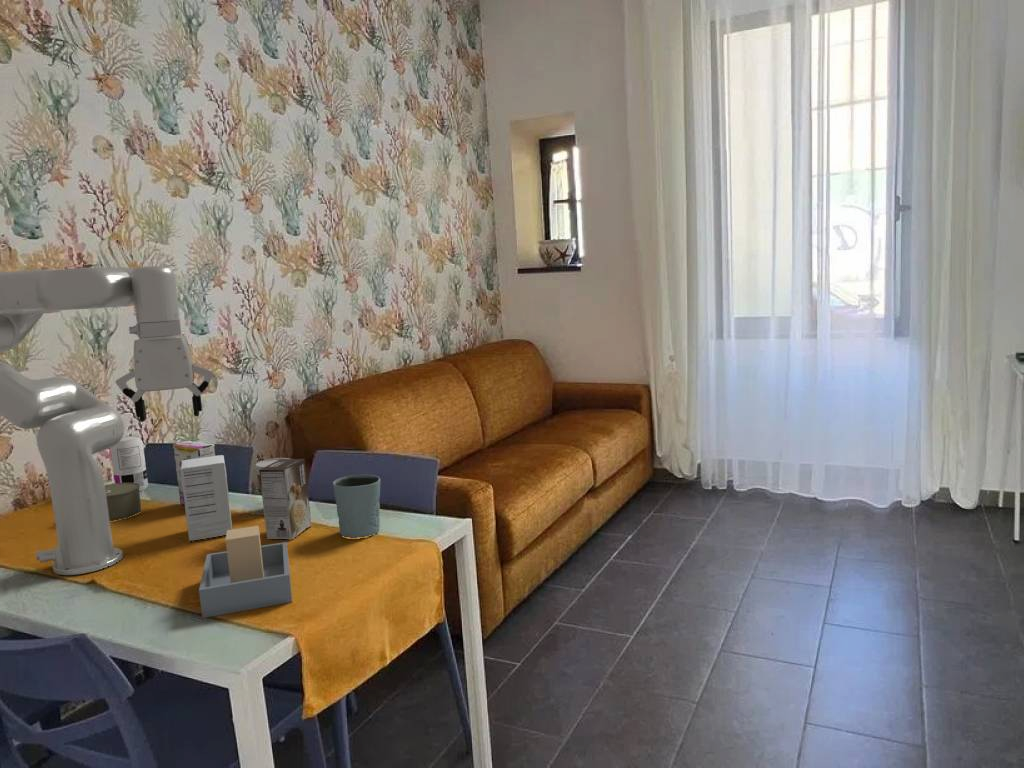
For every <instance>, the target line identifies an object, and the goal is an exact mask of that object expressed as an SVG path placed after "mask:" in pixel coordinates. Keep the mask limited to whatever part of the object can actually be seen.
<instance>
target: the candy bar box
mask: <svg viewBox="0 0 1024 768" xmlns="http://www.w3.org/2000/svg"><path fill="white" fill-rule="evenodd" d="M215 445H216V444H215V443H210V442H209V443H208V442H203V441H202V442H200V441H194V440H185V441H181V442H176V443H173V444H172V449H173V456H174V464H175V470H176V477H177V478H176V479H177V485H178V494H179V502H180V505H181V506H184V507H185V502H184V495H183V488H182V480H181V471H180V469H181V465H182V460H189V459H196V458H204V457H211V456H217V453H216V446H215Z"/></svg>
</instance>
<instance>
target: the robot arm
mask: <svg viewBox="0 0 1024 768" xmlns="http://www.w3.org/2000/svg"><path fill="white" fill-rule="evenodd" d="M176 286H177V285H176V279H175V273H174V270H173V269H172V268H171V267H168V266H165V265H159V266H158V265H154V266H153V265H151V266H150V265H149V266H139V267H135V268H134V267H115V266H113V267H112V266H111V267H110V266H105V267H103V266H102V267H100V266H99V267H79V268H77V267H76V268H65V269H53V268H43V269H29V270H15V271H14V270H12V271H11V270H10V271H0V353H2V352H3V353H4V352H7V351H10V350H12V349H15V348H16V347H17V346H19V345H20V344H22V342H23V341H24V340H25V338H26V337H27V336H28V335H29V333H30V332H31V331H32V330H33V328H34V327H35V326H36V324H38V322H39V321H40V320H41V318H42V317H43V315H44V314H52V313H55V314H56V313H59V312H61V311H73V310H88V309H89V310H92V309H94V310H95V309H107V308H118V307H119V308H120V307H132V306H134V311H135V317H136V323H135V325H133V326H129V327H128V332H129V334H130V335H133V334H134V335H136V336H137V337H138V339H134V341H133V370H132V371H130V372H128V373H126V374H125V375H122V376H121V377H119V378H117V379H116V380H115V384H116V386H117V387H118V388H119V389H120V390H121V392H122V393H123V395H124V396H126V397H128V399H130V400H131V401H132V402H133V403H134V408H135V416H136V418H139V422H140V423H144V422H145V421H146V420H147V418H148V417H147V411H146V404H145V403H146V402H145V400H144V398H143V395H144V394H145V393H146V392H158V391H170V390H177V389H178V390H180V389H186V388H187V389H188V390H189V391H190V392H191V393H192V397H191V400H192V402H191V403H192V409H193V416H194V417H199V415H200V412H202V411H203V405H202V397H201V396H202V393H203V392H204V391H205V390H206V389H207V388H208V386H209V384H210V382H211V380H212V377H213V376H214V372H213V370H209V369H206V368H204V367H201V366H200V365H196V364H193V360H192V355H191V351H190V347H189V344H188V341H187V338H186V336H184V335H182V328H181V321H180V309H179V303H178V302H179V301H178V295H177V294H178V293H177V287H176ZM194 373H196V374H198V375H201V376H203V381H202V382H201V383H200V385H199V386H198V385H197V384H196V383H195V374H194ZM132 379H134V380H135V387H136V391H134V390H133V389H132V388H131V387H129V386H128V384H127V382H129V381H130V380H132ZM0 416H1V417H3V418H4V419H5V420H7V421H8V422H10V423H11V424H12V425H14V426H15V427H18V428H20V429H22V430H23V429H24V430H25V429H26V430H30V429H31V430H32V429H37V428H39V430H38V432H37V434H36V445H37V449H38V452H39V454H40V457H41V459H42V462H43V465H44V468H45V471H46V475H47V479H48V485H49V493H50V499H51V502H52V503H51V505H52V509H53V515H54V522H55V530H56V536H57V542H58V543H57V544H58V546H55V547H54V548H53V549H44V550H43V549H42V550H37V551H36V553H35V554H36V556H35V558H36V560H37V561H39V562H40V563H47V562H52V561H53V562H54V563H53V564H52V571H53V572H54V573H55V574H56V575H61V576H74V575H75V576H76V575H84V574H87V573H89V574H90V573H92V572H93V573H94V572H96V571H101V570H103V568H104V569H106V568H108V566H109V567H110V566H111V567H112V566H113V565H116V564H117V563H118V562H120V561H121V560H122V559H123V557H124V552H123V550H122V549H121V548H118V547H114V543H113V536H112V529H111V528H112V527H111V522H110V520H109V513H108V505H107V498H106V491H105V485H106V484H105V480H104V475H103V472H102V470H101V468H100V466H99V465H98V463H97V462H96V461H95V459H94V457H93V455H95V454H98V453H100V452H103V451H106V450H110V448H111V447H113V446H115V445H116V444H117V443H118V442H120V440H121V439H122V437H124V433H125V425H124V421H123V419H122V417H121V416H120V414H119V413H118V412H117V411H116V410H115V409H114V408H113V407H112V406H110V405H109V404H108V403H106V402H104V400H102V399H100V397H98V396H96V395H95V394H93V392H91V391H90V390H89V389H87V388H85V387H84V386H82V385H81V384H80V383H78V382H76V381H74V380H72V379H69V378H66V377H61V376H54V377H53V376H52V377H47V378H42V379H31V378H29V377H27V376H25V375H24V374H22V373H21V372H19V371H17V370H16V369H15V368H14V367H12V366H11V365H9V364H7V362H6V363H5V362H4V361H1V360H0ZM119 560H120V561H119ZM116 562H117V563H116Z"/></svg>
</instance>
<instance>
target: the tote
mask: <svg viewBox="0 0 1024 768" xmlns="http://www.w3.org/2000/svg"><path fill="white" fill-rule="evenodd" d="M261 552H262V561H263V570H264V578H258V579H252V580H246V581H240V582H234V583H231V582H230V573H229V565H228V556H227V550H225V551H220V552H219V551H218V552H213V553H207V554H206V557H205V562H204V566H203V569H202V574H201V580H200V584H199V588H198V595H199V603H200V610H201V616H202V617H201V618H202V619H204V618H211V617H217V616H221V615H227V614H233V613H239V612H245V611H249V610H250V611H251V610H255V609H260V608H261V609H262V608H267V607H272V606H277V605H284V604H289V603H293V598H292V597H293V596H292V586H291V574H290V573H291V572H290V561H289V552H288V542H287V541H284V542H278V543H272V544H271V543H270V544H265V545H261Z"/></svg>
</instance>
